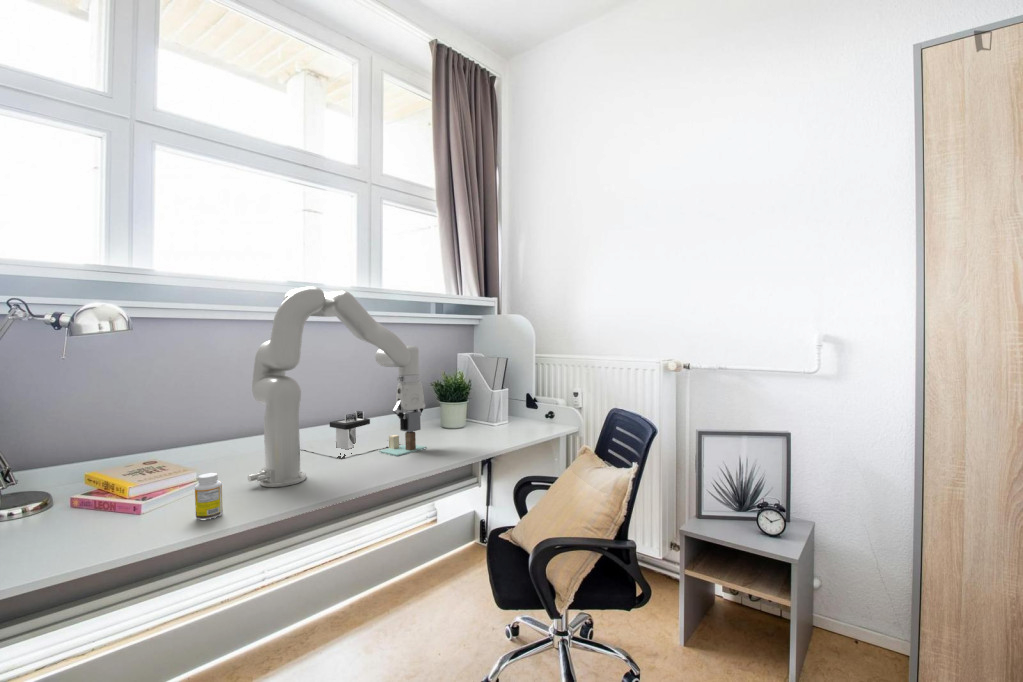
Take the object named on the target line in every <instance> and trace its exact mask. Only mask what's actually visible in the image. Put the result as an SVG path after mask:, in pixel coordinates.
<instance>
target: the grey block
mask: <svg viewBox="0 0 1023 682" xmlns="http://www.w3.org/2000/svg"><path fill="white" fill-rule="evenodd" d="M416 411H417V410H416ZM416 411H413V410H412V411H407V416H406V419H407V423H408V429H407V430H403V429H401V421H400V420H399V429H400V430H399V431H400V432H416V431H420V430H422V429H421V427H422V426H421V416H420V412H416ZM403 414H404V412H403Z"/></svg>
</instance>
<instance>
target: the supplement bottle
mask: <svg viewBox="0 0 1023 682" xmlns="http://www.w3.org/2000/svg"><path fill="white" fill-rule="evenodd" d="M218 478H219V475H218V473H217V472H208V473H203V474H200V475H198V479H197V484H196V485H195V486H194V502H195V503H194V504H195V518H196V519H197V520H198V519H210V518H214V519H216V518H215V517H217V516H219V517H220V516H222V515H223V513H224V512H223V511H224V510H223V484H222V481H220V480H219V479H218ZM217 518H218V517H217ZM210 520H211V519H210Z"/></svg>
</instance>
